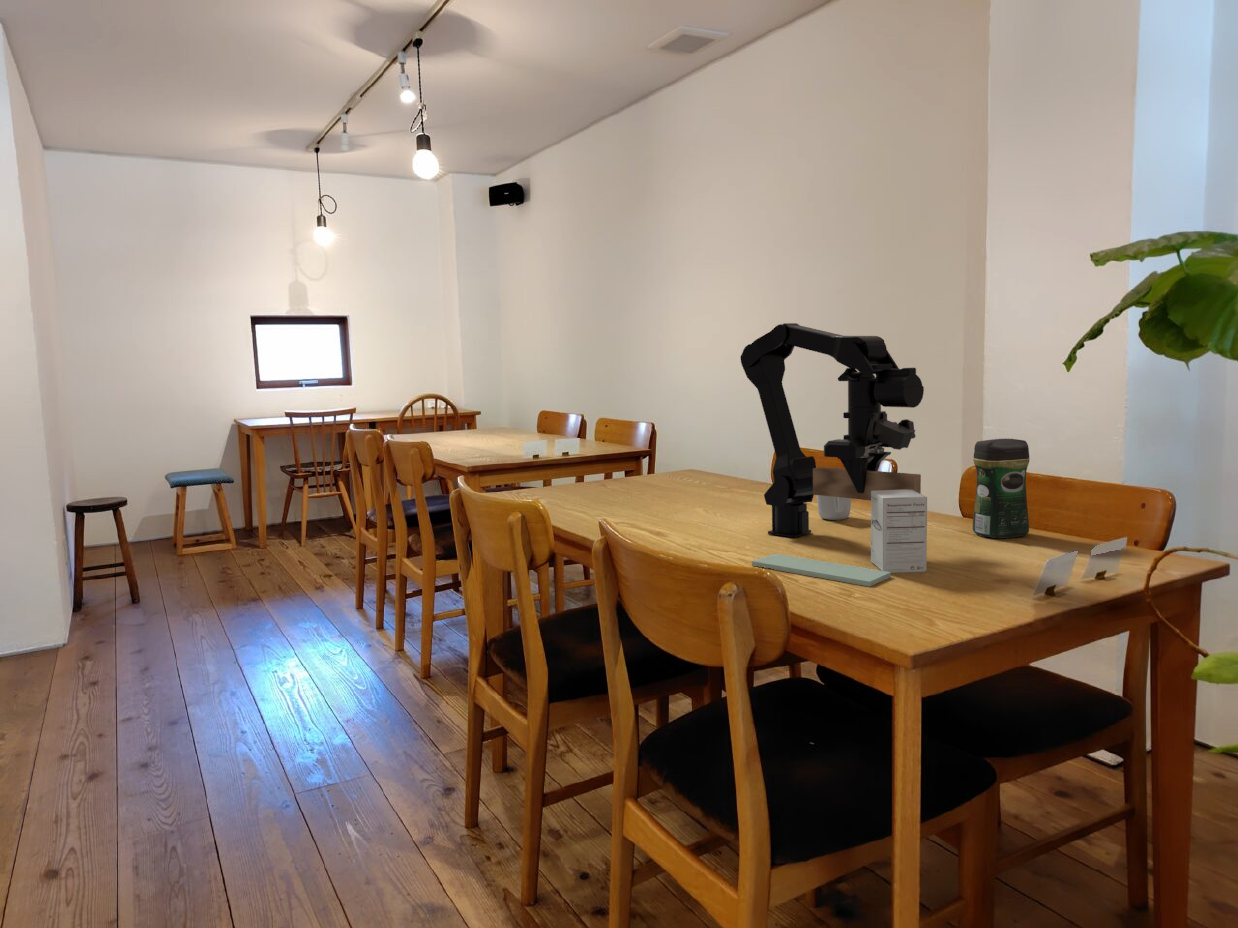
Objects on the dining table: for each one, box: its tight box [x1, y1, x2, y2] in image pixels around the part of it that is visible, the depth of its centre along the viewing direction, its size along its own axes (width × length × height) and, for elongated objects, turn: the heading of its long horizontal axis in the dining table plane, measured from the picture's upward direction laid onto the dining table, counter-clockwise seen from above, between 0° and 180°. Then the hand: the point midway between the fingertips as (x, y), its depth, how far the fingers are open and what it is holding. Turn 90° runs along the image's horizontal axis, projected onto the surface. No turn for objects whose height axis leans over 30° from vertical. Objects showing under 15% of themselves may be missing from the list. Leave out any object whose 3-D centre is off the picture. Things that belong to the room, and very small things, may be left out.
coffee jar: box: [972, 438, 1031, 539], centre depth 160 cm, size 10×8×19 cm
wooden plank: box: [813, 466, 922, 501], centre depth 152 cm, size 20×2×5 cm, turn 45°
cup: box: [815, 495, 852, 521], centre depth 181 cm, size 11×8×8 cm
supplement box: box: [870, 489, 928, 574], centre depth 139 cm, size 7×7×13 cm
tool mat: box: [751, 553, 892, 588], centre depth 139 cm, size 22×7×1 cm, turn 46°
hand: (864, 491), depth 152 cm, fingers closed on wooden plank, 2 cm apart
